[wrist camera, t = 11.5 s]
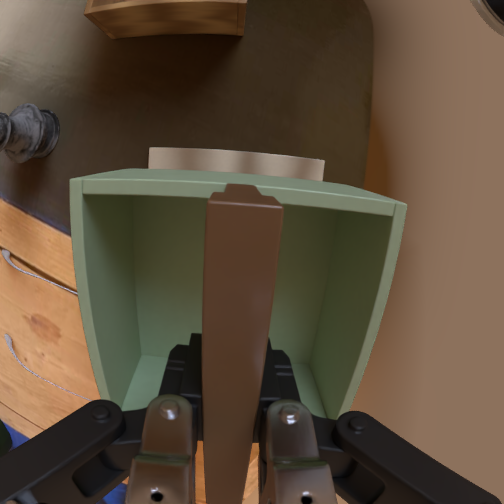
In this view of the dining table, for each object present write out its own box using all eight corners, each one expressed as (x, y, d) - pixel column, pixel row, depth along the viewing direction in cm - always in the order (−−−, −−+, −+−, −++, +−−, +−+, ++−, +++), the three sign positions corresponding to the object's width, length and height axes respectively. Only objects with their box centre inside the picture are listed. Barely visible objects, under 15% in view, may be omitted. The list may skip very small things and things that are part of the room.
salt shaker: (71, 127, 24) (-7, 121, 13) (40, 172, 25) (-38, 188, 14) (42, 96, 23) (-33, 82, 12) (14, 139, 24) (-63, 144, 13)
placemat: (323, 160, 27) (324, 160, 27) (301, 315, 32) (302, 317, 31) (150, 147, 26) (149, 147, 25) (150, 305, 31) (149, 307, 30)
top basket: (347, 184, 17) (481, 232, 7) (313, 365, 21) (358, 493, 11) (127, 168, 16) (-5, 196, 6) (136, 355, 20) (88, 483, 9)
